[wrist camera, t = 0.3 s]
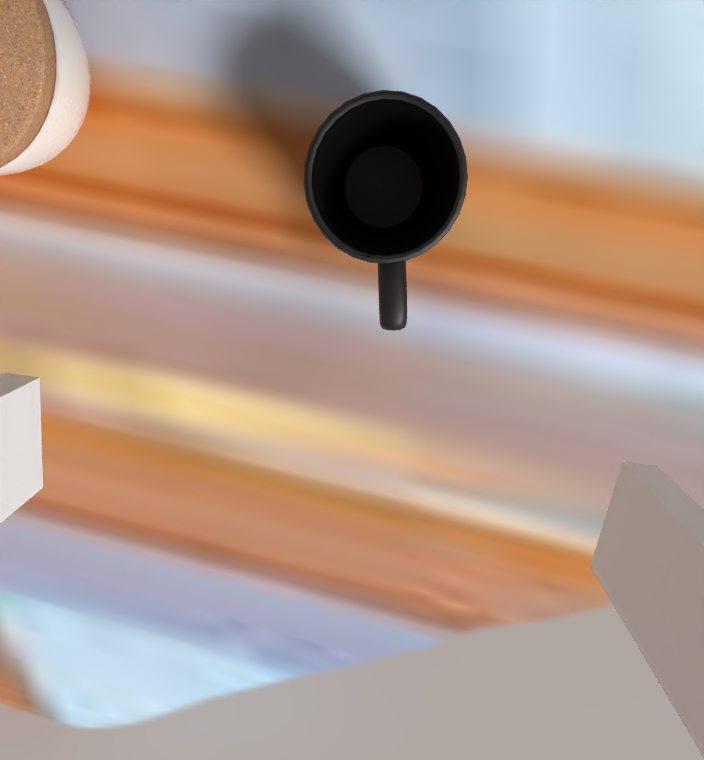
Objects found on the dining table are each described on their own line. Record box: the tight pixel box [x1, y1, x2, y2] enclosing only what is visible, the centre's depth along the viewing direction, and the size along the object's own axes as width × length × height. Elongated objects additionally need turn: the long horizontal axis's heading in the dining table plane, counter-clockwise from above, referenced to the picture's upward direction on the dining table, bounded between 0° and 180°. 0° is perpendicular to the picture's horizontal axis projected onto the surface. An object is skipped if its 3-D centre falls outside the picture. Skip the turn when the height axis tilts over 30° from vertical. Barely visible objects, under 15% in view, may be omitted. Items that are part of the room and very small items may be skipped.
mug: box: [304, 90, 468, 330], centre depth 33 cm, size 8×12×10 cm
